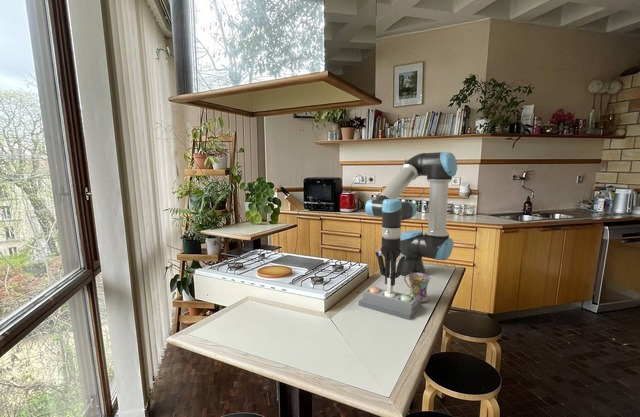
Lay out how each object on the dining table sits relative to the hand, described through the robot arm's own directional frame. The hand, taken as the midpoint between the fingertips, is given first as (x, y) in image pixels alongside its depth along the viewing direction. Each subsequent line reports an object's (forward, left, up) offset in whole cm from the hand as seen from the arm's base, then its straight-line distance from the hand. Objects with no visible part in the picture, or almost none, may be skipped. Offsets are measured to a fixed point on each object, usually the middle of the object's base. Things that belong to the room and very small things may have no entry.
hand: (389, 292), depth 128 cm
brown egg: (0, -7, -4) cm, 8 cm away
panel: (0, 0, -6) cm, 6 cm away
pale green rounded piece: (0, +7, -4) cm, 8 cm away
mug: (-13, +7, -6) cm, 16 cm away
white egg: (0, 0, -4) cm, 4 cm away
